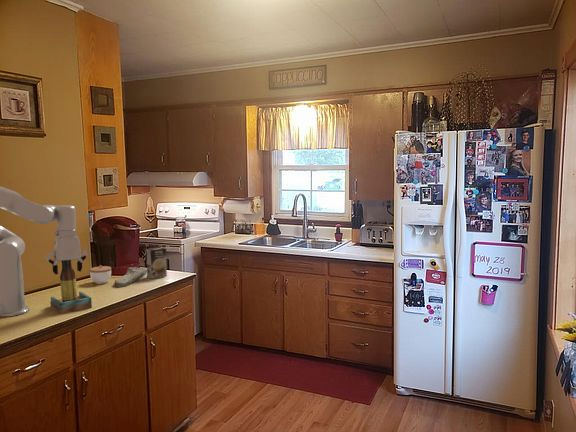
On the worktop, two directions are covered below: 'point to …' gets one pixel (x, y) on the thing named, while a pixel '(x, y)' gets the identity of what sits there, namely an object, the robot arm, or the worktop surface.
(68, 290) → the sauce bottle
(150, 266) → the coffee box
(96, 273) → the lidded jar
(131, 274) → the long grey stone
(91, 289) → the worktop surface
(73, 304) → the dock
